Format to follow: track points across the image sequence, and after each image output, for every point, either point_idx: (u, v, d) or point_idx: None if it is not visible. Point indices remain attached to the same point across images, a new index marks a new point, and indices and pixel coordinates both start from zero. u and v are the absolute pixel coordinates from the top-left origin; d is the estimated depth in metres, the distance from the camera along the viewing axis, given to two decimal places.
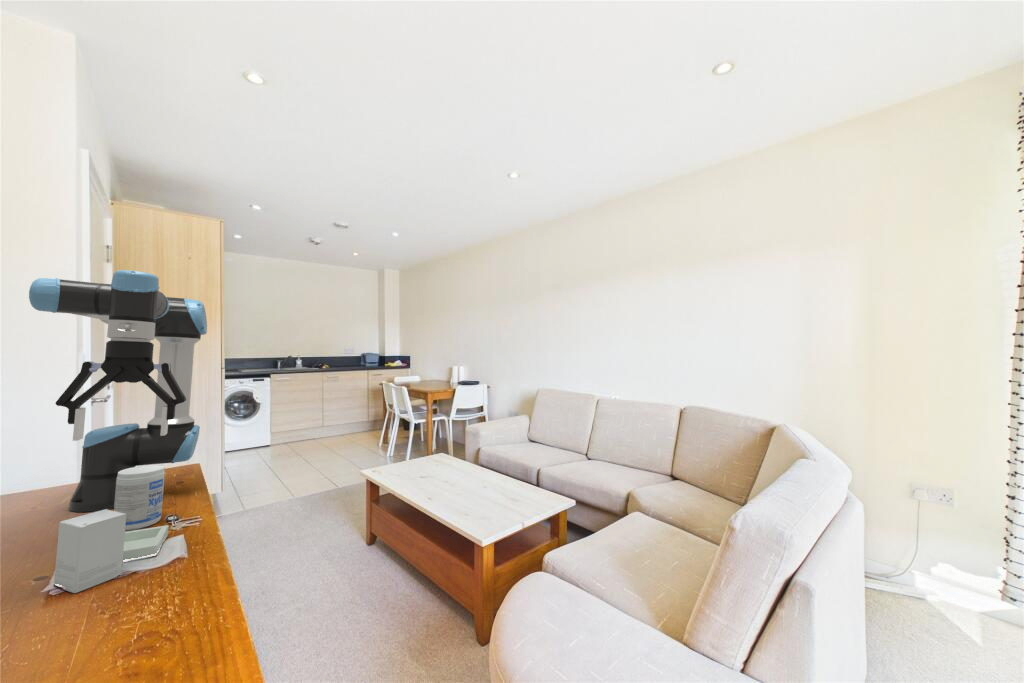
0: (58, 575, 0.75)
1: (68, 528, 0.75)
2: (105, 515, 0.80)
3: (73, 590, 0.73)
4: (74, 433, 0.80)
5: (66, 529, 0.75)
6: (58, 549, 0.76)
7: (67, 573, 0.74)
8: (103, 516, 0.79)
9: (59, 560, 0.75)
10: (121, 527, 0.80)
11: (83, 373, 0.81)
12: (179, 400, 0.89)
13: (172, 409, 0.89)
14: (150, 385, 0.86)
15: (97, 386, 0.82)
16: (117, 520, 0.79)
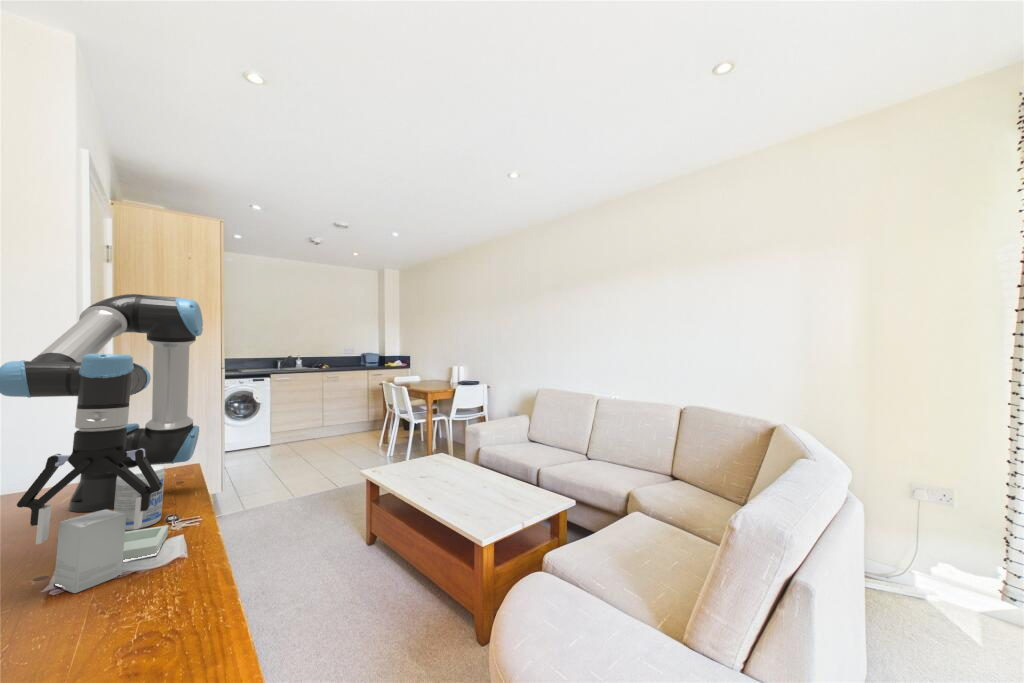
0: (58, 575, 0.75)
1: (68, 528, 0.75)
2: (105, 515, 0.80)
3: (73, 590, 0.73)
4: (37, 536, 0.73)
5: (66, 529, 0.75)
6: (58, 549, 0.76)
7: (67, 573, 0.74)
8: (103, 516, 0.79)
9: (59, 560, 0.75)
10: (121, 527, 0.80)
11: (48, 469, 0.74)
12: (154, 489, 0.83)
13: (147, 499, 0.82)
14: (122, 475, 0.80)
15: (63, 482, 0.76)
16: (117, 520, 0.79)
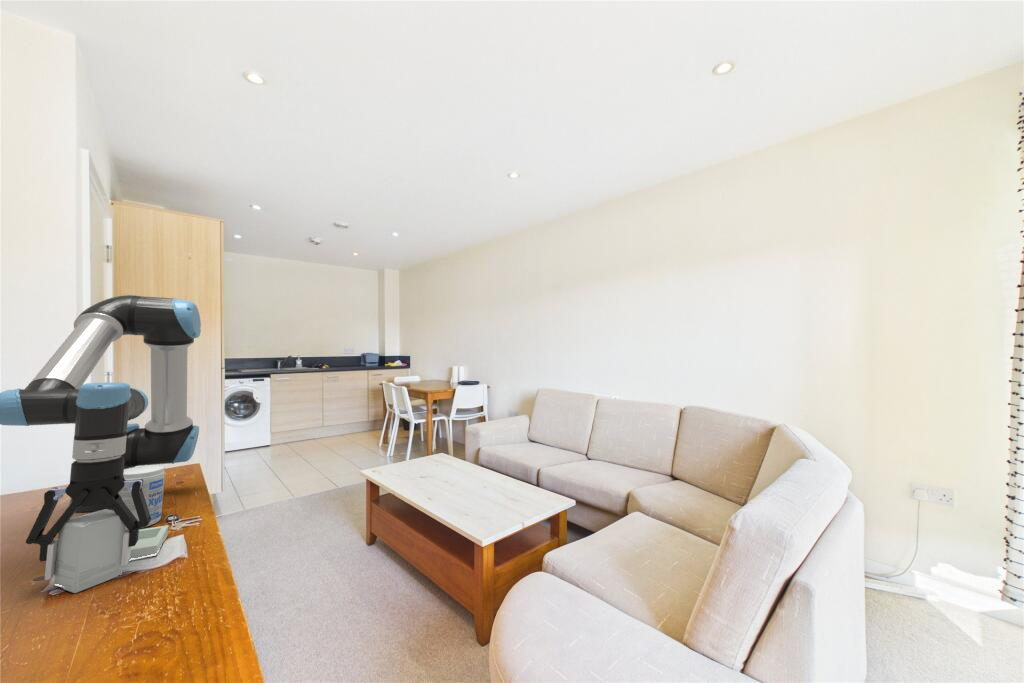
0: (58, 575, 0.75)
1: (68, 527, 0.75)
2: (105, 514, 0.80)
3: (73, 590, 0.73)
4: (46, 571, 0.74)
5: (66, 529, 0.75)
6: (58, 549, 0.76)
7: (67, 573, 0.74)
8: (103, 516, 0.79)
9: (60, 560, 0.75)
10: (121, 527, 0.80)
11: (48, 504, 0.74)
12: (142, 524, 0.82)
13: (135, 534, 0.81)
14: (115, 508, 0.79)
15: (66, 515, 0.76)
16: (117, 520, 0.79)
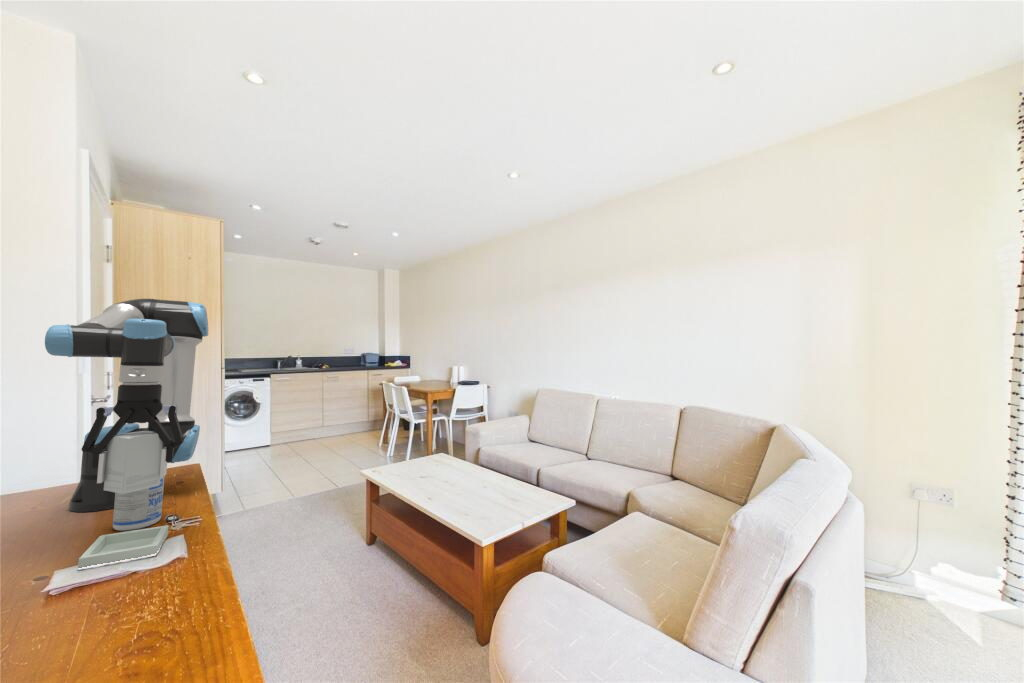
0: (108, 480, 0.88)
1: (116, 440, 0.88)
2: (146, 433, 0.92)
3: (121, 491, 0.86)
4: (98, 476, 0.86)
5: (114, 441, 0.88)
6: (107, 458, 0.88)
7: (116, 478, 0.87)
8: (145, 433, 0.92)
9: (109, 468, 0.88)
10: (159, 444, 0.92)
11: (99, 419, 0.87)
12: (177, 442, 0.94)
13: (171, 451, 0.94)
14: (155, 427, 0.92)
15: (114, 430, 0.88)
16: (156, 437, 0.92)
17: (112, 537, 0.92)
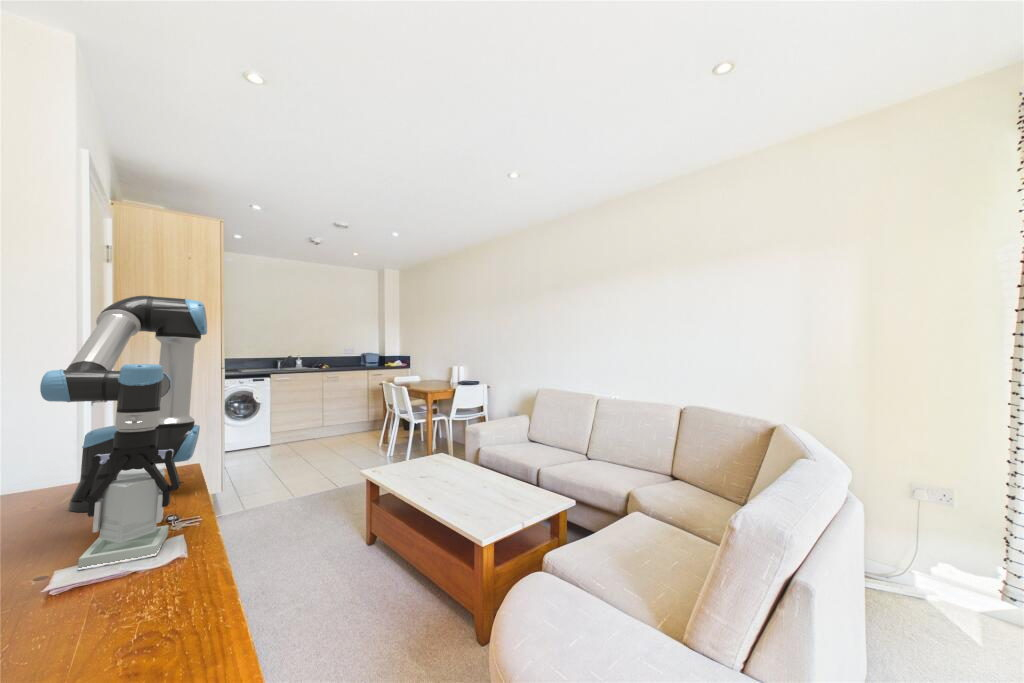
0: (103, 529, 0.87)
1: (112, 488, 0.87)
2: (142, 478, 0.92)
3: (117, 540, 0.85)
4: (94, 525, 0.86)
5: (110, 489, 0.87)
6: (103, 506, 0.88)
7: (111, 526, 0.86)
8: (141, 479, 0.91)
9: (104, 516, 0.87)
10: (156, 489, 0.92)
11: (95, 467, 0.86)
12: (174, 487, 0.93)
13: (167, 496, 0.93)
14: (151, 472, 0.91)
15: (110, 477, 0.88)
16: (152, 483, 0.91)
17: None
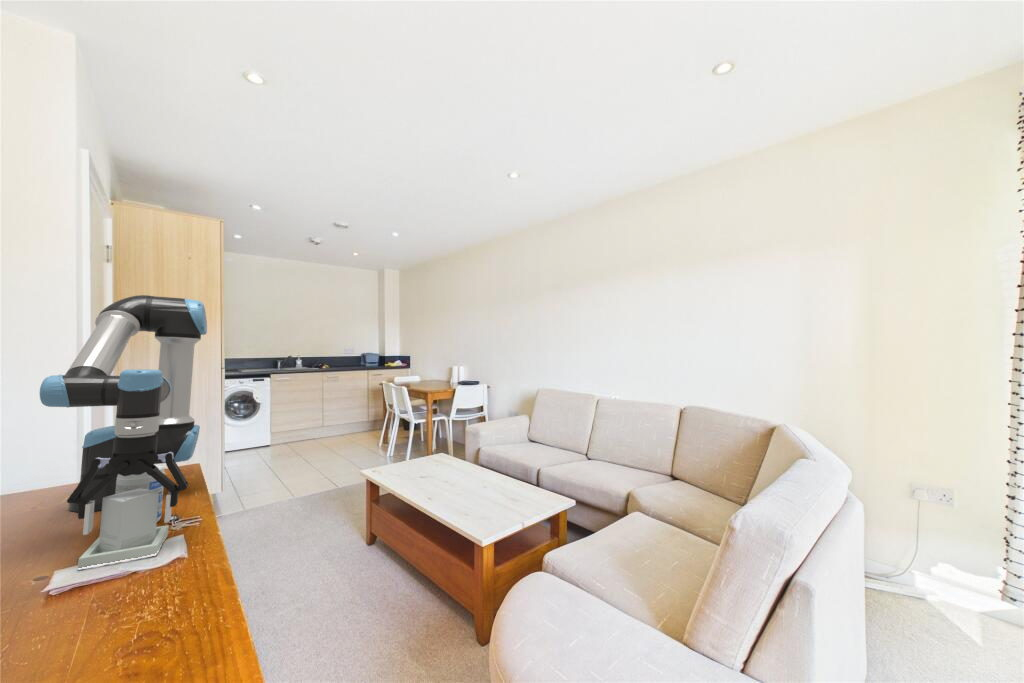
0: (102, 543, 0.87)
1: (111, 502, 0.87)
2: (141, 492, 0.91)
3: None
4: (84, 527, 0.85)
5: (109, 504, 0.87)
6: (102, 521, 0.88)
7: (110, 541, 0.86)
8: (140, 493, 0.91)
9: (103, 531, 0.87)
10: (155, 503, 0.92)
11: (92, 470, 0.86)
12: (182, 487, 0.94)
13: (175, 496, 0.94)
14: (155, 476, 0.92)
15: (105, 481, 0.87)
16: (151, 497, 0.91)
17: None
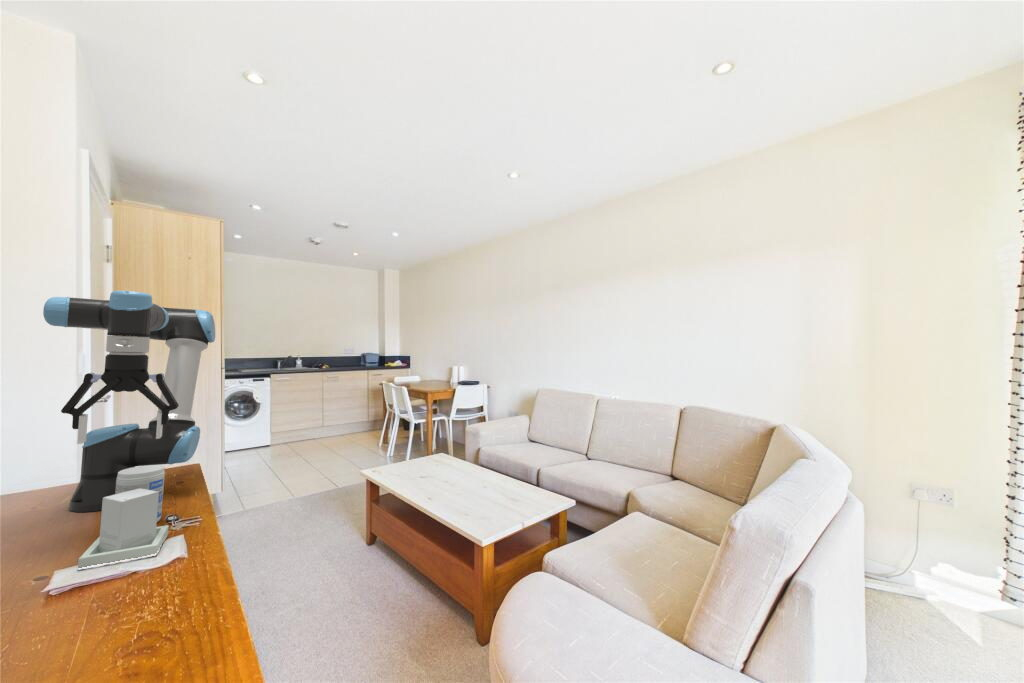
0: (102, 543, 0.87)
1: (111, 502, 0.87)
2: (141, 492, 0.91)
3: None
4: (78, 437, 0.89)
5: (109, 504, 0.87)
6: (102, 521, 0.88)
7: (110, 541, 0.86)
8: (140, 493, 0.91)
9: (103, 531, 0.87)
10: (155, 503, 0.92)
11: (85, 384, 0.90)
12: (172, 407, 0.99)
13: (166, 415, 0.99)
14: (146, 394, 0.96)
15: (98, 395, 0.91)
16: (151, 497, 0.91)
17: None
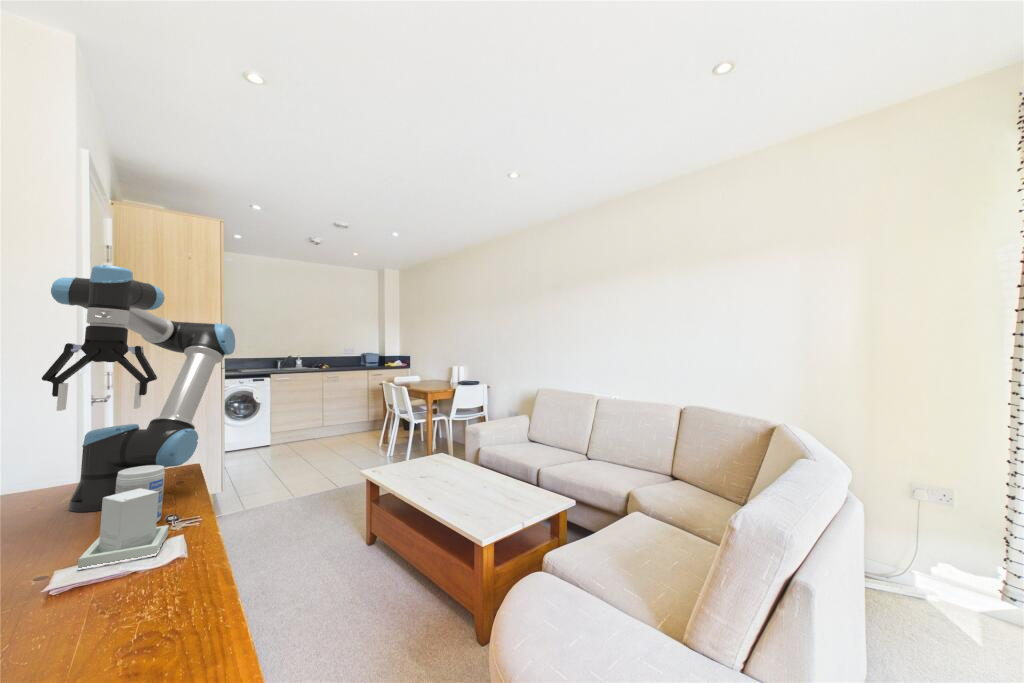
0: (102, 543, 0.87)
1: (110, 502, 0.87)
2: (141, 492, 0.91)
3: None
4: (58, 404, 0.93)
5: (109, 504, 0.87)
6: (102, 521, 0.88)
7: (110, 541, 0.86)
8: (140, 493, 0.91)
9: (103, 531, 0.87)
10: (155, 503, 0.92)
11: (66, 353, 0.94)
12: (150, 378, 1.02)
13: (144, 386, 1.02)
14: (124, 365, 0.99)
15: (78, 364, 0.95)
16: (151, 497, 0.91)
17: None
